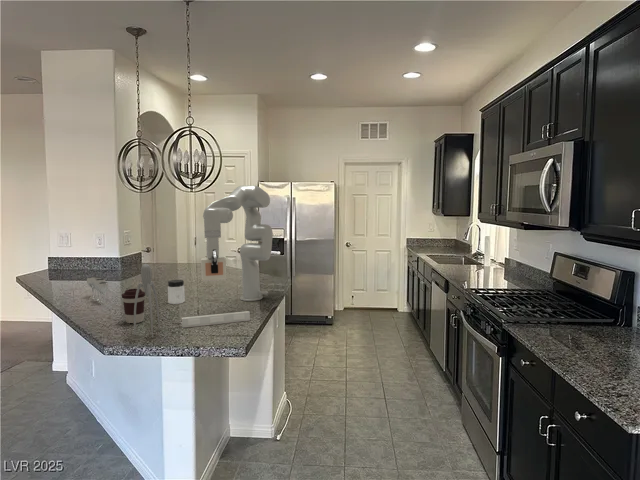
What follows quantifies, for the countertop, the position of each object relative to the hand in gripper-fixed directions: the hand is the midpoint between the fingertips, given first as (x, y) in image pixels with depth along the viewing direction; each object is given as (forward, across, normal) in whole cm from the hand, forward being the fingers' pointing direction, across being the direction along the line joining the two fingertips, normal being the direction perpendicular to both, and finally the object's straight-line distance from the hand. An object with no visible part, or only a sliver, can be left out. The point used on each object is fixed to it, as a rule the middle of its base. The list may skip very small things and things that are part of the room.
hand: (213, 271), depth 207 cm
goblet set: (+22, -61, -58) cm, 87 cm away
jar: (+22, -39, -16) cm, 48 cm away
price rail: (+22, +12, -1) cm, 25 cm away
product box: (+4, 0, 0) cm, 4 cm away
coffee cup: (+22, -6, -36) cm, 43 cm away
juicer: (+22, +17, -31) cm, 42 cm away
